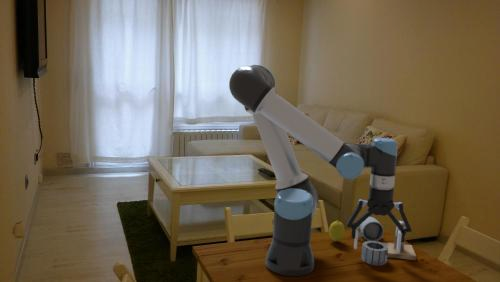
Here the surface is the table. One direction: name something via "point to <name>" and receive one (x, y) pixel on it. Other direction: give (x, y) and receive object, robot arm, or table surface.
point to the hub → (374, 253)
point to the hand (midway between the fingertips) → (376, 249)
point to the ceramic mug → (371, 230)
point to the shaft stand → (405, 250)
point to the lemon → (336, 231)
